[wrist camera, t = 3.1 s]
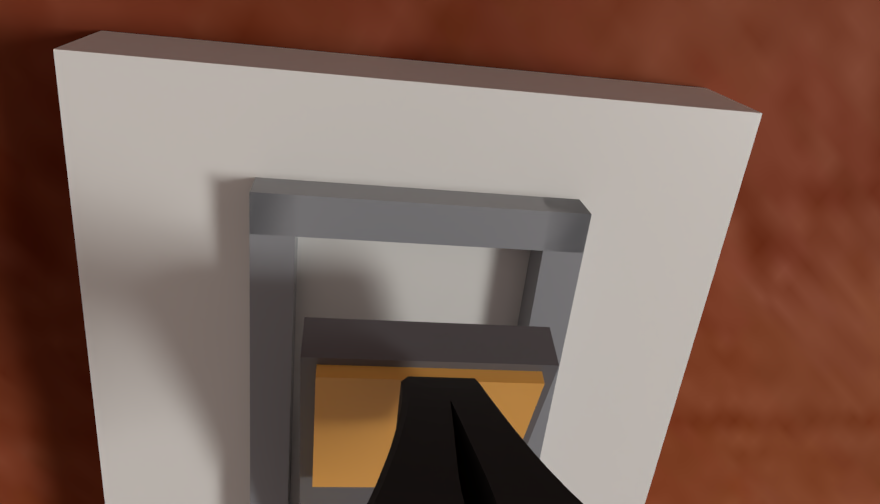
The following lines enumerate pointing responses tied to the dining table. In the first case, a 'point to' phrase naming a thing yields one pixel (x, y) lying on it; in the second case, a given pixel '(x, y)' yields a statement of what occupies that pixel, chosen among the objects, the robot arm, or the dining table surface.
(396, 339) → the breaker rocker
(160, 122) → the rocker switch base
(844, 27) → the dining table surface
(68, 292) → the dining table surface
